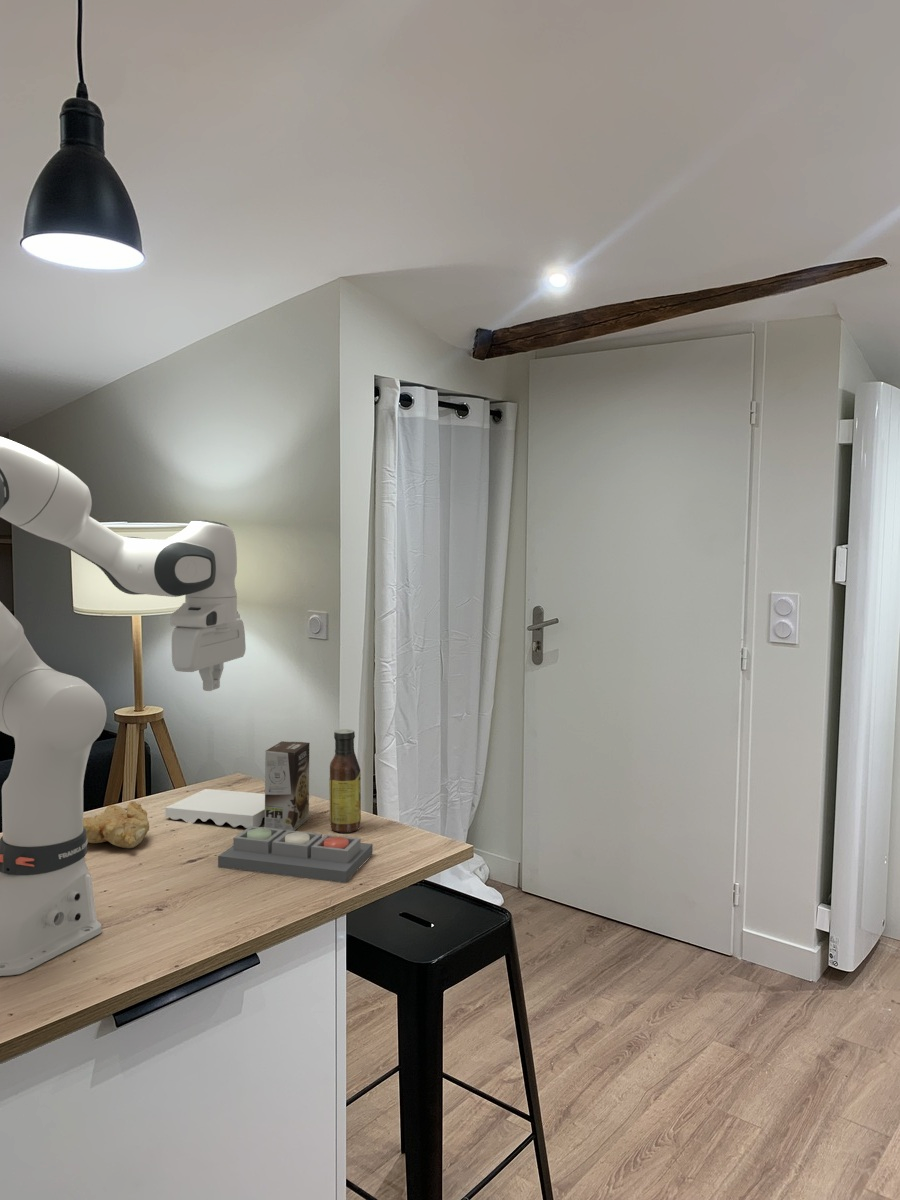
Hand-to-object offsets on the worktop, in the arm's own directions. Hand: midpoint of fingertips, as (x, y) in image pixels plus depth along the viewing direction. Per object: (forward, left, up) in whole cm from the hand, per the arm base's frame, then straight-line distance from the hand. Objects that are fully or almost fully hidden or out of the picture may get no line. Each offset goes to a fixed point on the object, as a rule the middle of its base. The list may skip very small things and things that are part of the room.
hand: (211, 689), depth 164 cm
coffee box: (+22, -5, -31) cm, 39 cm away
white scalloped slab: (+24, +9, -32) cm, 41 cm away
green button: (+4, -7, -29) cm, 30 cm away
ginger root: (+2, +21, -32) cm, 38 cm away
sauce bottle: (+23, -17, -31) cm, 42 cm away
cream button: (+4, -15, -29) cm, 33 cm away
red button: (+4, -22, -29) cm, 37 cm away
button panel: (+4, -15, -31) cm, 35 cm away
